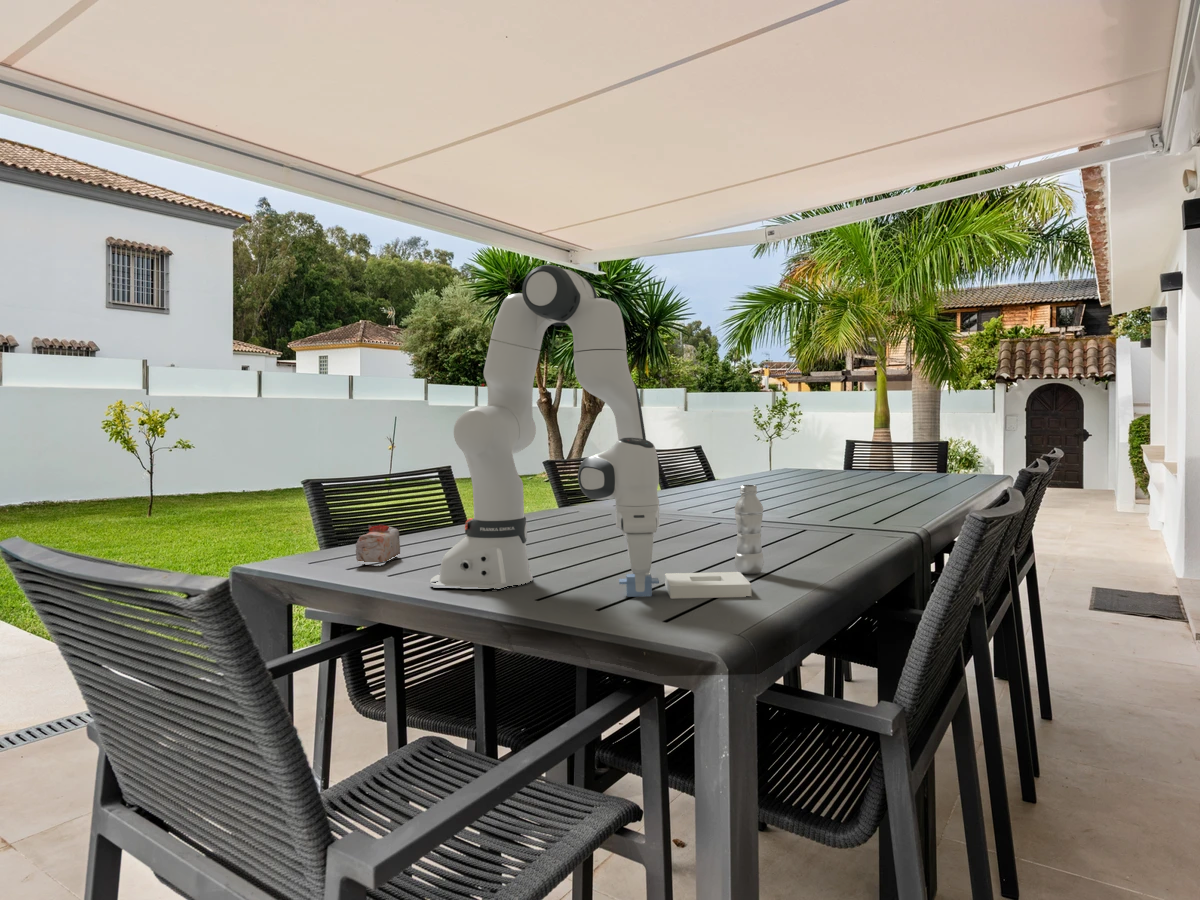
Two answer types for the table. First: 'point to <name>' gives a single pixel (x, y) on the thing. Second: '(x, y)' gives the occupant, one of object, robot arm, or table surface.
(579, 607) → the table surface
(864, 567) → the table surface
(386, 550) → the food item
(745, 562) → the plastic bottle
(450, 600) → the table surface
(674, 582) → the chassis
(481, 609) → the table surface
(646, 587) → the servo
